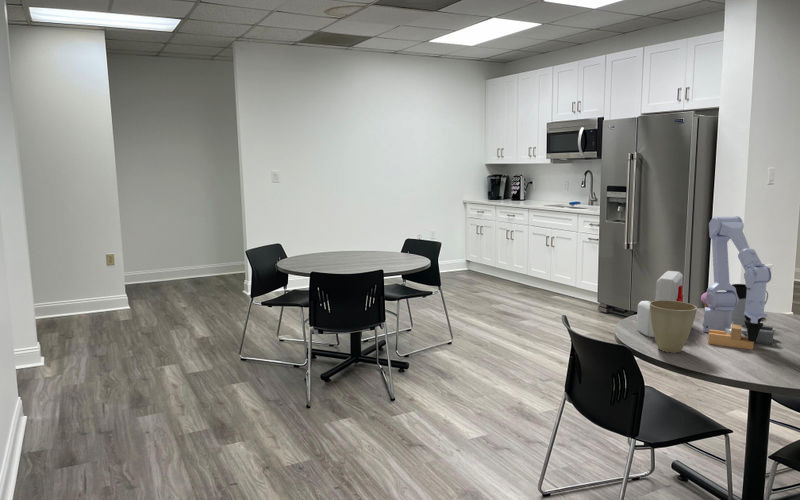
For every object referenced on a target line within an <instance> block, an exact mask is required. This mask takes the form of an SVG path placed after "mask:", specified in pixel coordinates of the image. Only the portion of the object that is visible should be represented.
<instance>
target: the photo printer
mask: <svg viewBox="0 0 800 500" xmlns="http://www.w3.org/2000/svg"><path fill="white" fill-rule="evenodd" d="M650 302H651V301H650V300H641V301H639V303H637V314H636V315H637V319H636V330H637V331H638V332H639V333H641V334H643V335H645V336H646V337H649V338H655V336H654V332H653V327H652V322H651V314H650Z"/></svg>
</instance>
